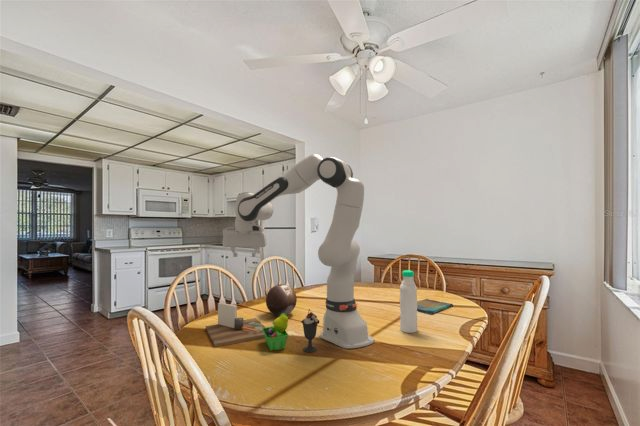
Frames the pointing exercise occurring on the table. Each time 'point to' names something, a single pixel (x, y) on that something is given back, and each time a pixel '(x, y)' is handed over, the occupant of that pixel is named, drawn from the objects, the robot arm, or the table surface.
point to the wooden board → (235, 333)
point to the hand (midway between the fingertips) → (244, 256)
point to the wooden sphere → (281, 299)
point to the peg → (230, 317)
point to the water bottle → (408, 303)
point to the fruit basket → (277, 333)
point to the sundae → (310, 330)
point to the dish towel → (431, 306)
